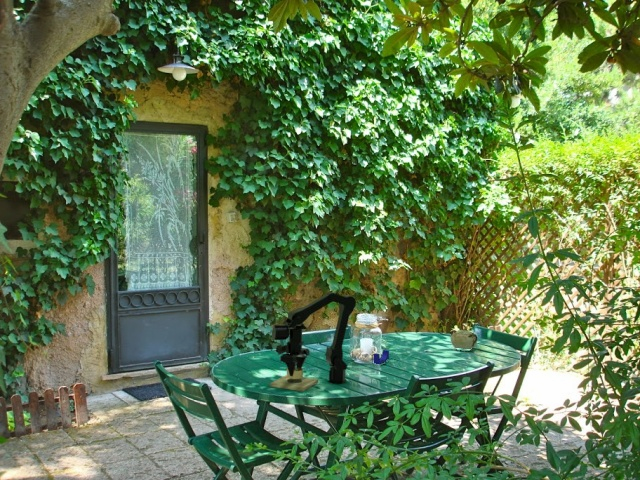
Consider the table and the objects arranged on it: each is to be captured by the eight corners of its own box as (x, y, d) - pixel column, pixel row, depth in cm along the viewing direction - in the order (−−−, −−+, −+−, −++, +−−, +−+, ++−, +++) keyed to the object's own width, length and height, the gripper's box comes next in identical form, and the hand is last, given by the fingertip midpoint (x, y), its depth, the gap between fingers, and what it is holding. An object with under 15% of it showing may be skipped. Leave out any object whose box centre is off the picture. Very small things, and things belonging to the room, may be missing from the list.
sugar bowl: (441, 348, 368) (442, 322, 368) (459, 346, 377) (460, 321, 376) (467, 355, 352) (468, 328, 352) (485, 352, 360) (486, 326, 360)
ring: (305, 376, 282) (305, 368, 282) (298, 379, 276) (298, 371, 275) (290, 374, 285) (291, 366, 285) (284, 377, 278) (284, 369, 278)
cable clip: (380, 366, 320) (380, 354, 320) (372, 365, 323) (372, 353, 322) (391, 362, 330) (391, 350, 330) (383, 361, 332) (384, 349, 332)
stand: (318, 382, 284) (318, 367, 284) (303, 391, 270) (303, 374, 269) (286, 378, 291) (286, 363, 290) (270, 386, 276) (270, 370, 276)
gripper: (288, 334, 291) (287, 367, 292) (269, 341, 274) (268, 376, 275) (310, 336, 287) (309, 370, 287) (292, 343, 270) (292, 379, 270)
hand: (294, 374), depth 280 cm, fingers closed on ring, 7 cm apart
